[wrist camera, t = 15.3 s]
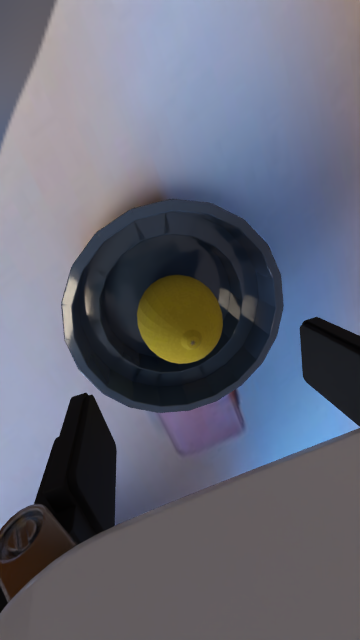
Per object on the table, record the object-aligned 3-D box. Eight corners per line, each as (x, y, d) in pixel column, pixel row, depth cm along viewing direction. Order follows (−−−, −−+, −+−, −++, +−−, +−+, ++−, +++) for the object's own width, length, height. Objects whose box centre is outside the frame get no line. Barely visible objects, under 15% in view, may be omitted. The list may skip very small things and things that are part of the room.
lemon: (139, 261, 19) (149, 284, 12) (208, 272, 21) (254, 299, 13) (130, 328, 21) (134, 385, 14) (194, 334, 22) (228, 389, 15)
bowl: (113, 391, 23) (110, 437, 18) (46, 233, 18) (15, 238, 13) (255, 345, 25) (289, 376, 20) (234, 185, 19) (273, 172, 14)
